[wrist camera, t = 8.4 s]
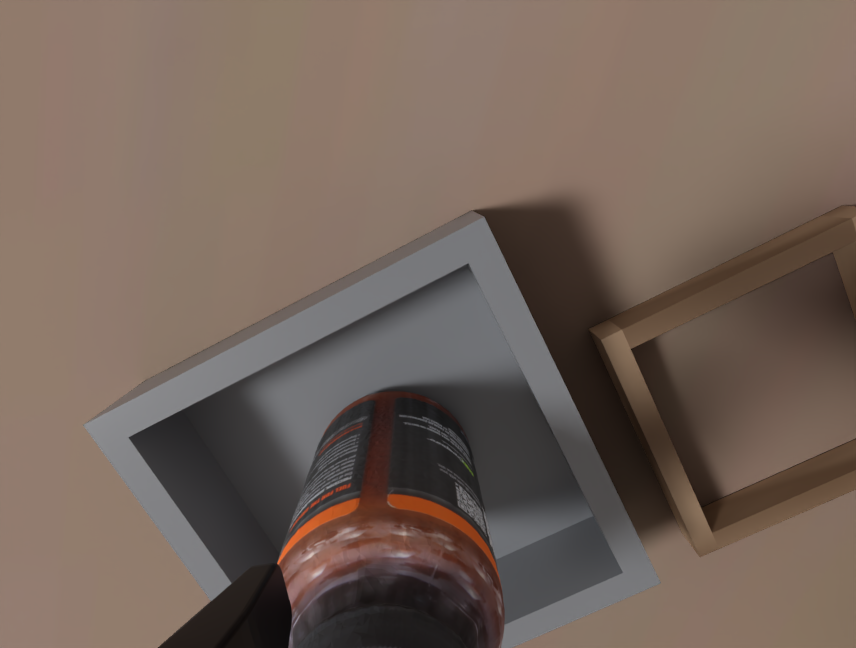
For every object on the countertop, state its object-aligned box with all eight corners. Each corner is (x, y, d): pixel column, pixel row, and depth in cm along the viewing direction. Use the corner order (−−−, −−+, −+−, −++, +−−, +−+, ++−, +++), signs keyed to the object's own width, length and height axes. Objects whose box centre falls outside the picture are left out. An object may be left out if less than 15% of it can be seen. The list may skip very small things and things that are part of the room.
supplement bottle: (299, 498, 22) (182, 810, 11) (346, 363, 21) (265, 566, 10) (441, 542, 23) (463, 880, 12) (496, 414, 21) (578, 659, 10)
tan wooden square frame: (914, 431, 22) (949, 448, 21) (682, 533, 23) (700, 557, 22) (842, 205, 20) (874, 207, 19) (588, 329, 21) (601, 339, 20)
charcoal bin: (620, 516, 23) (660, 583, 19) (326, 648, 25) (308, 735, 21) (471, 210, 20) (484, 216, 16) (144, 381, 21) (83, 425, 18)
